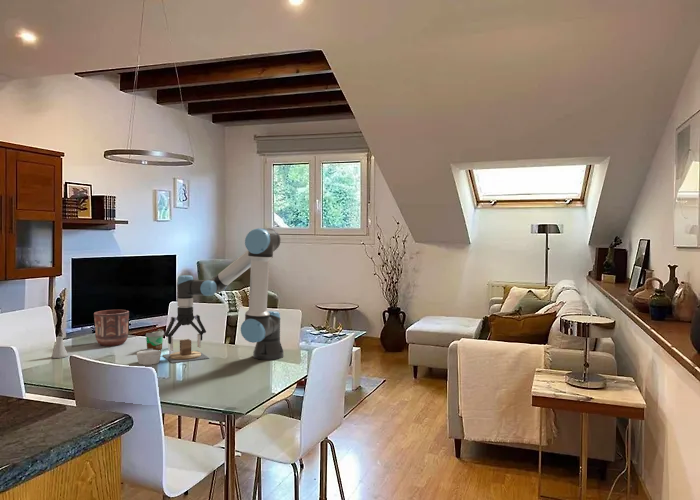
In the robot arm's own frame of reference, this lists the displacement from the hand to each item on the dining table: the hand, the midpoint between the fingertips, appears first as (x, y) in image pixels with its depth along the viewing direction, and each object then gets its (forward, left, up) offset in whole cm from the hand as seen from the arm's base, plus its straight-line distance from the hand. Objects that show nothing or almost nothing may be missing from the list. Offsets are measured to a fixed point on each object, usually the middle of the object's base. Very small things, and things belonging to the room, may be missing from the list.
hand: (185, 348), depth 271 cm
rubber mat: (0, 0, -4) cm, 4 cm away
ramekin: (-2, +18, -5) cm, 19 cm away
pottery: (+52, +26, -4) cm, 58 cm away
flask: (+33, +53, -4) cm, 63 cm away
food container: (+24, +8, -4) cm, 26 cm away
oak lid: (0, 0, -4) cm, 4 cm away
